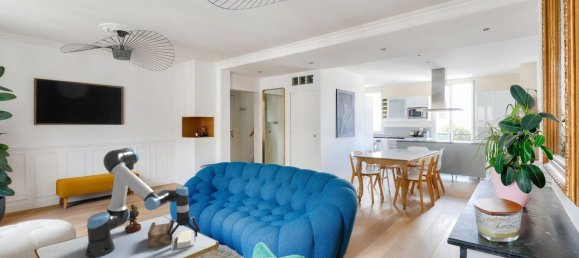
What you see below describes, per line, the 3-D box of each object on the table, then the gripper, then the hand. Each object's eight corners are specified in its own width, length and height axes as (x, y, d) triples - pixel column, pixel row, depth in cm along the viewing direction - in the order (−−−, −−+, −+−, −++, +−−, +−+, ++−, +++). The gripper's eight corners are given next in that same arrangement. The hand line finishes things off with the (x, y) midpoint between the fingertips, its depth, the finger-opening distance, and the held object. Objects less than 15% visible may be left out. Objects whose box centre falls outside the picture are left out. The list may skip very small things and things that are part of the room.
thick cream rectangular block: (177, 249, 176) (177, 243, 176) (179, 237, 193) (179, 231, 193) (190, 247, 179) (190, 240, 178) (191, 235, 196) (191, 230, 195)
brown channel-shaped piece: (148, 248, 177) (147, 232, 177) (152, 236, 194) (152, 222, 194) (171, 244, 182) (170, 229, 181) (173, 233, 199) (172, 219, 198)
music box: (146, 228, 209) (143, 203, 206) (133, 235, 199) (129, 209, 196) (132, 225, 215) (129, 201, 212) (118, 232, 205) (115, 206, 202)
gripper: (161, 215, 171) (162, 249, 172) (202, 210, 179) (204, 242, 180) (162, 211, 178) (164, 243, 179) (202, 206, 186) (203, 237, 187)
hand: (184, 243), depth 179 cm, fingers open, 13 cm apart
